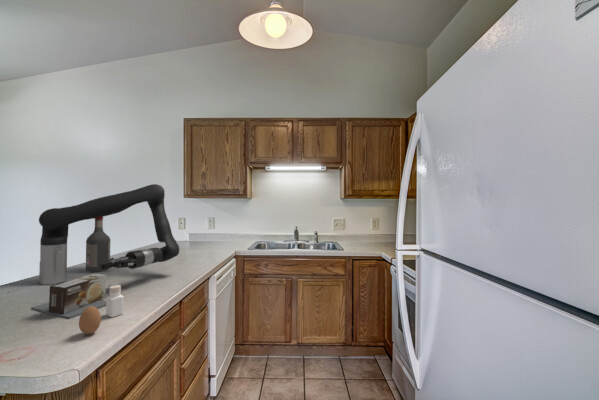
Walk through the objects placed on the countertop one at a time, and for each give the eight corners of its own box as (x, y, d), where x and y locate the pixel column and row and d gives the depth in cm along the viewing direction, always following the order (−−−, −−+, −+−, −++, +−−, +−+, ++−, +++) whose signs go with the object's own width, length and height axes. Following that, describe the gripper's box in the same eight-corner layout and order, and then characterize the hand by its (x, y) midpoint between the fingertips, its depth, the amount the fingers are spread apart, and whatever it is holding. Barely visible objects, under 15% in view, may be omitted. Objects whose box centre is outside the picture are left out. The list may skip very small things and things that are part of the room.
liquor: (92, 273, 145) (93, 214, 145) (83, 270, 150) (84, 213, 150) (111, 269, 153) (112, 213, 153) (103, 267, 158) (104, 212, 158)
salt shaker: (111, 318, 94) (111, 289, 94) (105, 315, 96) (105, 286, 96) (124, 314, 97) (124, 286, 97) (118, 311, 99) (118, 284, 99)
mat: (31, 309, 99) (31, 307, 99) (75, 296, 113) (75, 294, 113) (69, 318, 92) (69, 317, 92) (111, 304, 106) (111, 302, 106)
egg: (104, 329, 86) (105, 303, 86) (92, 338, 81) (93, 310, 80) (87, 329, 86) (87, 303, 85) (74, 338, 80) (74, 309, 80)
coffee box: (92, 273, 111) (48, 284, 95) (106, 274, 110) (64, 286, 94) (91, 296, 111) (47, 312, 95) (105, 298, 110) (63, 314, 94)
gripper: (129, 248, 130) (89, 255, 114) (151, 251, 126) (113, 258, 109) (128, 265, 130) (89, 274, 114) (150, 268, 126) (112, 278, 109)
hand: (101, 266), depth 112 cm, fingers closed
